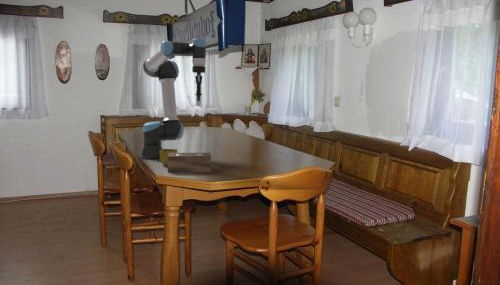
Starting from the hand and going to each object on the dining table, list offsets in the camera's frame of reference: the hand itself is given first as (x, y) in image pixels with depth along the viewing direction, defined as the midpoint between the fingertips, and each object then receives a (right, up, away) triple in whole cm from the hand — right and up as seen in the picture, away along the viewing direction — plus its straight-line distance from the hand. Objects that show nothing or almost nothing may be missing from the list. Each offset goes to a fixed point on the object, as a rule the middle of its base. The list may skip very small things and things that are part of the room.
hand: (198, 106), depth 247 cm
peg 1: (-10, -37, -9) cm, 39 cm away
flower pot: (-19, -35, +6) cm, 40 cm away
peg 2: (+2, -37, -7) cm, 38 cm away
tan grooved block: (-4, -37, -8) cm, 38 cm away
